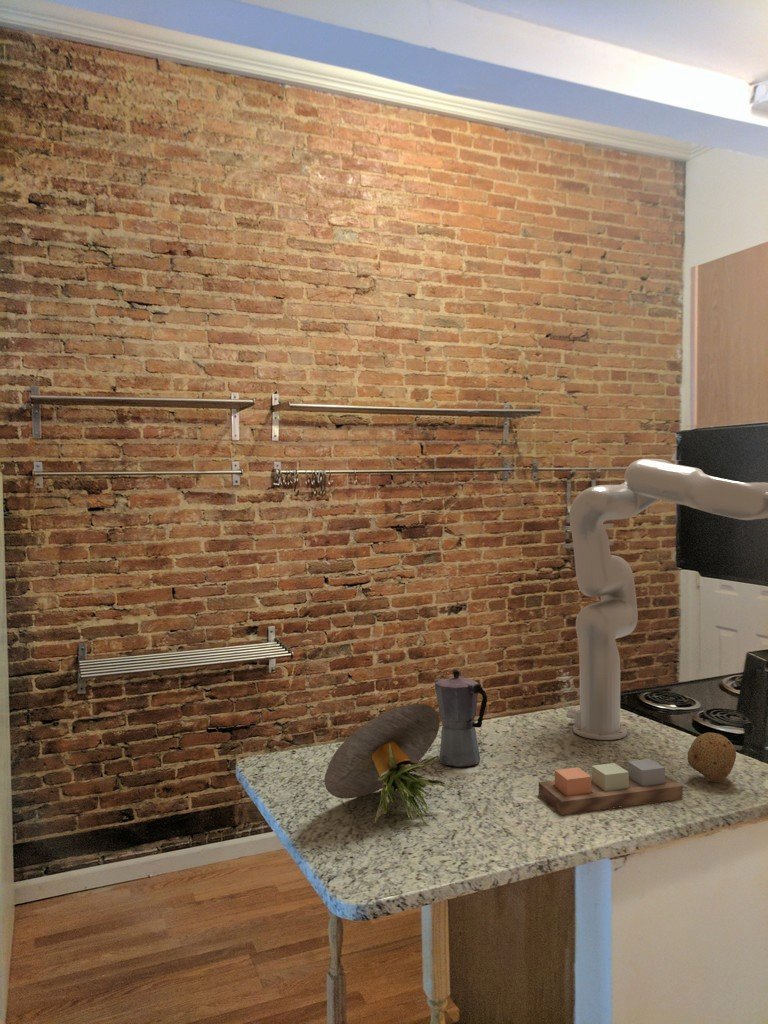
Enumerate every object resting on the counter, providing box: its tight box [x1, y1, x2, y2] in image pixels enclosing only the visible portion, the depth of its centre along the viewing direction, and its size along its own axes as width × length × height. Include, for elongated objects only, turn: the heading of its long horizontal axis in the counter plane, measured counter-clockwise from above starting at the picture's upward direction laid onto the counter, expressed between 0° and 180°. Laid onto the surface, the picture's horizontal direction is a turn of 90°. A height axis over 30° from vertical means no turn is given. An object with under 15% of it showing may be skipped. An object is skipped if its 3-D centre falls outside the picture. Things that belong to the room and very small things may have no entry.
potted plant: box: [324, 703, 456, 826], centre depth 145 cm, size 25×18×25 cm
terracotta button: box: [554, 767, 592, 796], centre depth 151 cm, size 5×5×4 cm
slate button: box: [627, 758, 666, 786], centre depth 155 cm, size 5×5×4 cm
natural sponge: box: [686, 731, 737, 784], centre depth 160 cm, size 9×9×10 cm
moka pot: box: [434, 669, 488, 767], centre depth 172 cm, size 10×15×20 cm, turn 44°
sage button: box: [591, 762, 629, 791], centre depth 153 cm, size 5×5×4 cm
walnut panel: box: [538, 775, 684, 816], centre depth 153 cm, size 26×10×2 cm, turn 105°
